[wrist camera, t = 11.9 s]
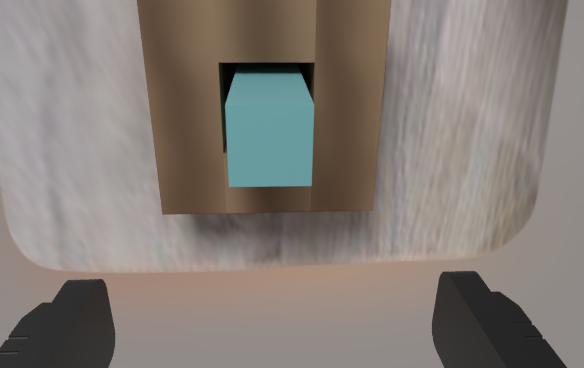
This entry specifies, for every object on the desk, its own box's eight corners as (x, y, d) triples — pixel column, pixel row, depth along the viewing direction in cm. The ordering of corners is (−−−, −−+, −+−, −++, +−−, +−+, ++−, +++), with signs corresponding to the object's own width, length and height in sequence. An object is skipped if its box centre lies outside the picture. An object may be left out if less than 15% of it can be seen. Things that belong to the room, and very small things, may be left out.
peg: (296, 62, 32) (314, 105, 21) (295, 118, 33) (311, 186, 22) (238, 62, 31) (224, 105, 20) (240, 118, 33) (228, 186, 22)
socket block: (372, -16, 30) (392, -16, 25) (358, 181, 36) (372, 210, 31) (154, -18, 29) (134, -18, 24) (175, 184, 35) (162, 214, 30)
